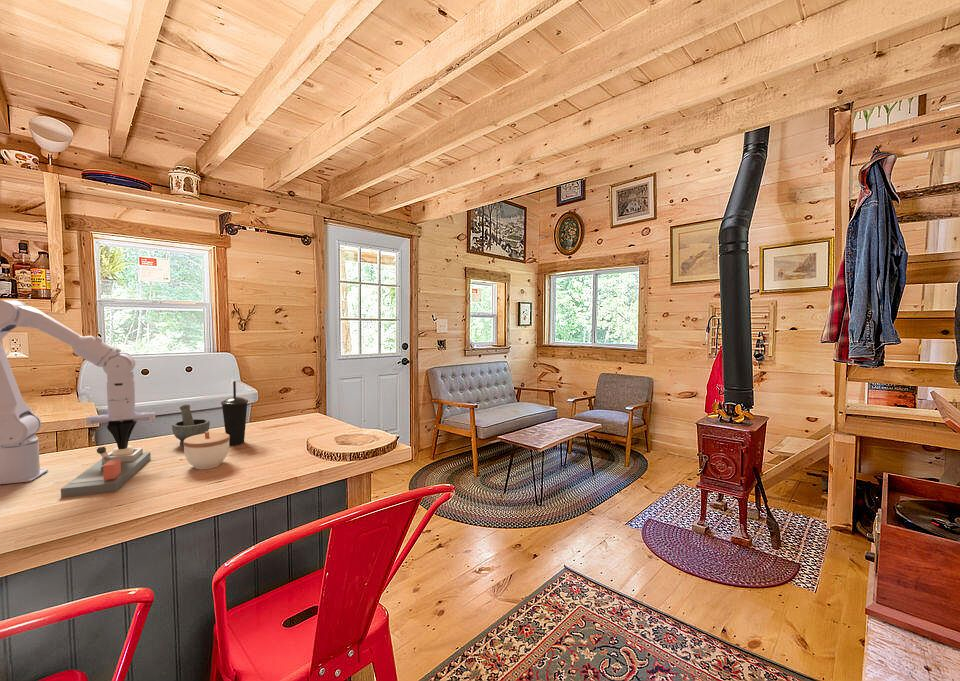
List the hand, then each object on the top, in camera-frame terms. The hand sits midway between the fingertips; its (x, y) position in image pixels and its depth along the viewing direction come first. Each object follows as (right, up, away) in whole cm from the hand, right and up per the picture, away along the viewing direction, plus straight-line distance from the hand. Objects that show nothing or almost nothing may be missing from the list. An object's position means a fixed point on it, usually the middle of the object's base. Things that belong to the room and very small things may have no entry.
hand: (122, 448), depth 118 cm
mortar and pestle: (+5, -4, +20) cm, 21 cm away
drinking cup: (+18, -4, +22) cm, 29 cm away
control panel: (+3, -5, -7) cm, 9 cm away
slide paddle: (+9, -4, -14) cm, 17 cm away
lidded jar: (+22, -5, +1) cm, 23 cm away
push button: (0, -2, 0) cm, 2 cm away
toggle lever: (+2, -1, -8) cm, 8 cm away
